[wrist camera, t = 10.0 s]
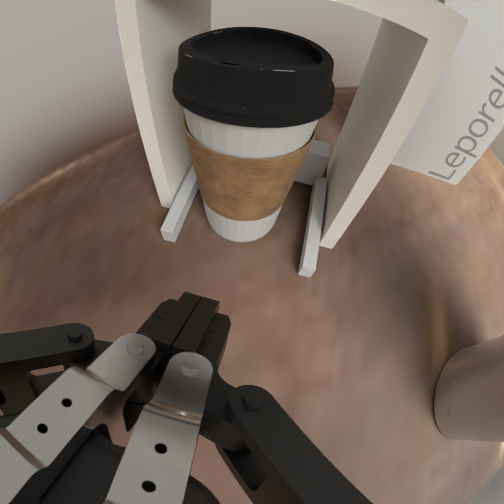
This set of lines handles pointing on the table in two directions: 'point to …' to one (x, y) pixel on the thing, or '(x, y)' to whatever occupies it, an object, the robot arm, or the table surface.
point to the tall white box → (462, 99)
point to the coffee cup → (250, 120)
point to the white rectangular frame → (346, 149)
